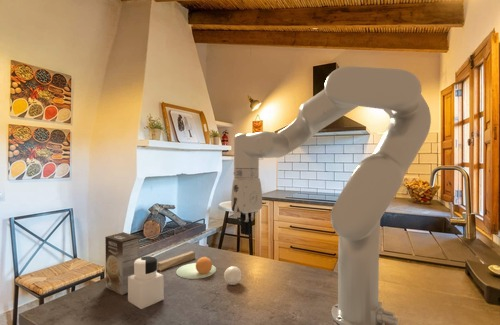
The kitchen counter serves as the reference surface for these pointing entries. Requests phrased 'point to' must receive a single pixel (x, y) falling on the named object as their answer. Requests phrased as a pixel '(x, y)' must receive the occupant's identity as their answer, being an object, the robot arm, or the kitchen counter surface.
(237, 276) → the cue ball
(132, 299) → the medicine bottle
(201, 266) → the object ball
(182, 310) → the kitchen counter surface
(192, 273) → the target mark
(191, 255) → the rail
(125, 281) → the coffee box
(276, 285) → the kitchen counter surface
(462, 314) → the kitchen counter surface
